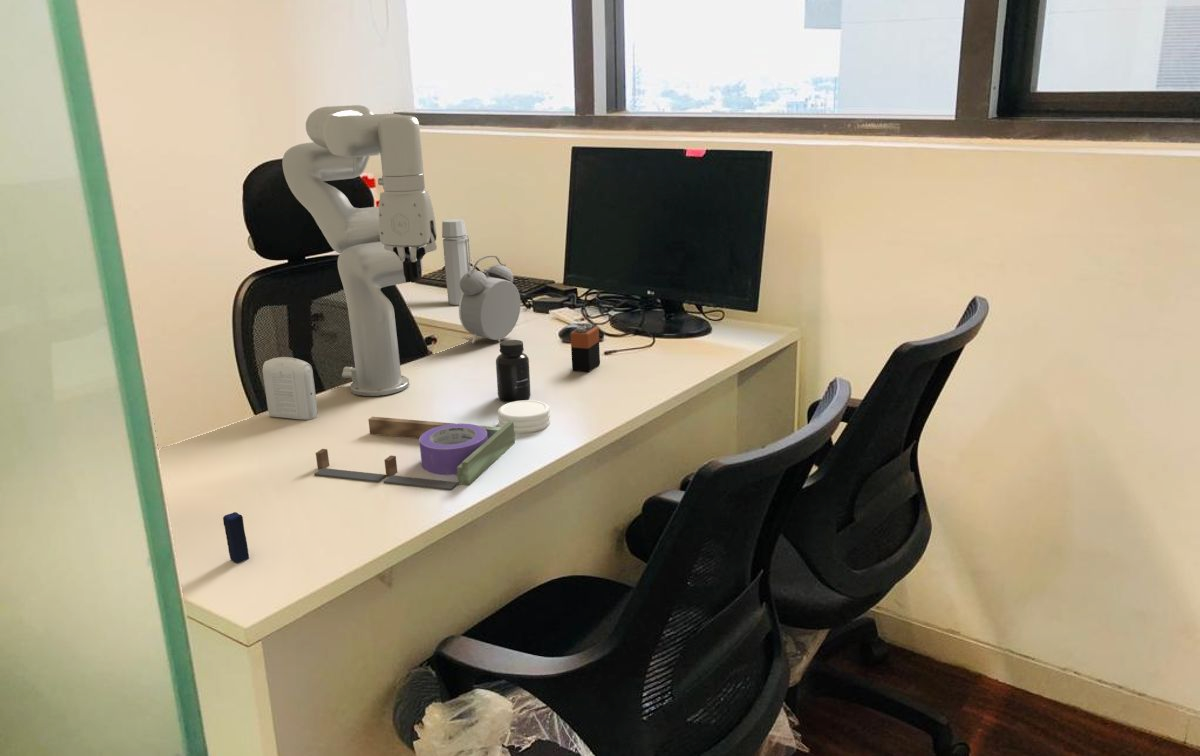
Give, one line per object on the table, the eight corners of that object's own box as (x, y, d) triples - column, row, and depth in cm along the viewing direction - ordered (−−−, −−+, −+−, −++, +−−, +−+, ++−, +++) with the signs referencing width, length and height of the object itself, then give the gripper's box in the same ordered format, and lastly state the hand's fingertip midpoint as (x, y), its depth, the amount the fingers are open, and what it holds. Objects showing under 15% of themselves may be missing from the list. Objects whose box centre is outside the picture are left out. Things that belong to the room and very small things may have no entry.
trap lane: (317, 469, 160) (314, 447, 158) (375, 430, 177) (373, 410, 176) (469, 485, 151) (467, 462, 150) (514, 442, 168) (513, 422, 167)
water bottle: (444, 306, 275) (436, 222, 267) (452, 300, 282) (445, 218, 275) (474, 306, 273) (467, 222, 266) (481, 300, 281) (475, 218, 273)
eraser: (236, 564, 128) (228, 520, 126) (228, 559, 130) (221, 515, 128) (250, 558, 130) (243, 514, 128) (243, 553, 131) (236, 510, 129)
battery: (571, 371, 208) (569, 328, 205) (583, 362, 214) (581, 321, 211) (589, 373, 207) (587, 330, 204) (600, 364, 213) (599, 322, 210)
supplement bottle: (526, 403, 188) (522, 347, 185) (494, 402, 190) (489, 346, 186) (534, 392, 195) (531, 338, 191) (503, 391, 196) (499, 337, 192)
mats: (314, 475, 157) (314, 473, 157) (322, 469, 159) (322, 467, 159) (451, 490, 149) (451, 488, 149) (458, 483, 151) (458, 482, 151)
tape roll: (455, 481, 153) (453, 453, 152) (407, 466, 160) (404, 439, 158) (503, 457, 162) (501, 430, 161) (455, 444, 169) (453, 418, 167)
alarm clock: (501, 331, 245) (495, 249, 238) (526, 335, 240) (521, 251, 233) (458, 346, 232) (450, 260, 225) (483, 350, 227) (476, 262, 220)
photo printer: (321, 414, 187) (313, 356, 183) (309, 421, 183) (301, 362, 179) (278, 410, 190) (270, 353, 186) (265, 418, 186) (256, 359, 182)
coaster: (492, 421, 180) (490, 404, 179) (540, 412, 183) (539, 396, 182) (508, 438, 171) (506, 420, 170) (558, 428, 175) (557, 411, 174)
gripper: (358, 186, 170) (369, 283, 176) (430, 187, 166) (439, 286, 172) (379, 182, 177) (389, 275, 183) (449, 182, 173) (457, 278, 178)
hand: (413, 280), depth 177 cm, fingers closed
